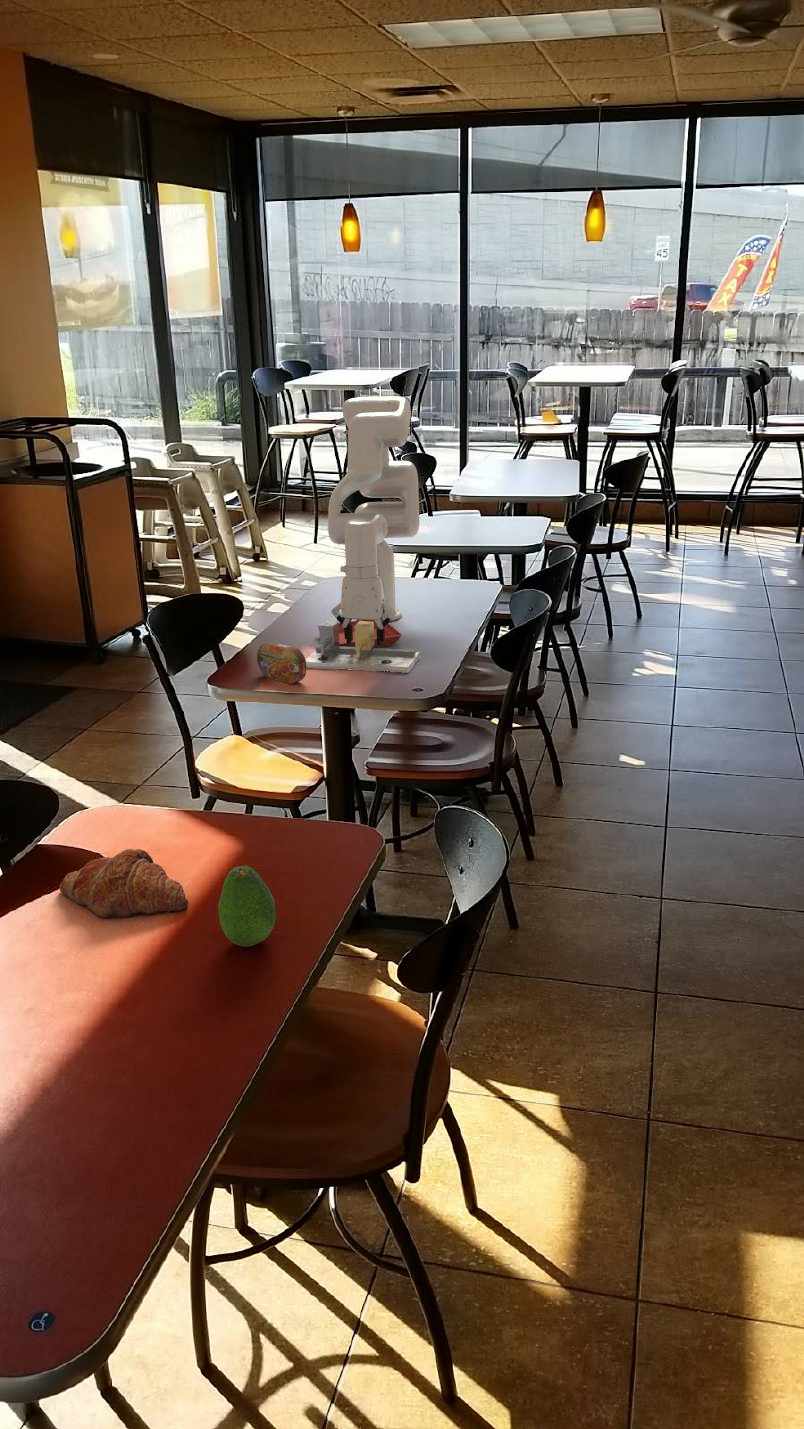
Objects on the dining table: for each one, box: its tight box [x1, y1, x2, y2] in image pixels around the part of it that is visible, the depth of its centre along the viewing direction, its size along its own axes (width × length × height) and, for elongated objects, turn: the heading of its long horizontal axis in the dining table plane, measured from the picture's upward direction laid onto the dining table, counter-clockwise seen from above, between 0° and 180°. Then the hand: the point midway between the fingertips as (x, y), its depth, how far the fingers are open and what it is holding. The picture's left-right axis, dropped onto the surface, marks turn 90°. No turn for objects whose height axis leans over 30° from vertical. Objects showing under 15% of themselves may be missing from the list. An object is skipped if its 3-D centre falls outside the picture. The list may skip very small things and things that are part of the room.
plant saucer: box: [316, 619, 403, 648], centre depth 296 cm, size 18×18×3 cm
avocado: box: [217, 864, 277, 948], centre depth 158 cm, size 8×8×12 cm
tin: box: [256, 642, 307, 685], centre depth 267 cm, size 15×3×8 cm, turn 47°
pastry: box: [59, 848, 189, 919], centre depth 171 cm, size 17×15×8 cm
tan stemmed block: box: [355, 621, 375, 659], centre depth 278 cm, size 9×4×7 cm, turn 166°
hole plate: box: [305, 620, 421, 674], centre depth 277 cm, size 12×26×9 cm, turn 76°
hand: (364, 642), depth 280 cm, fingers open, 7 cm apart
